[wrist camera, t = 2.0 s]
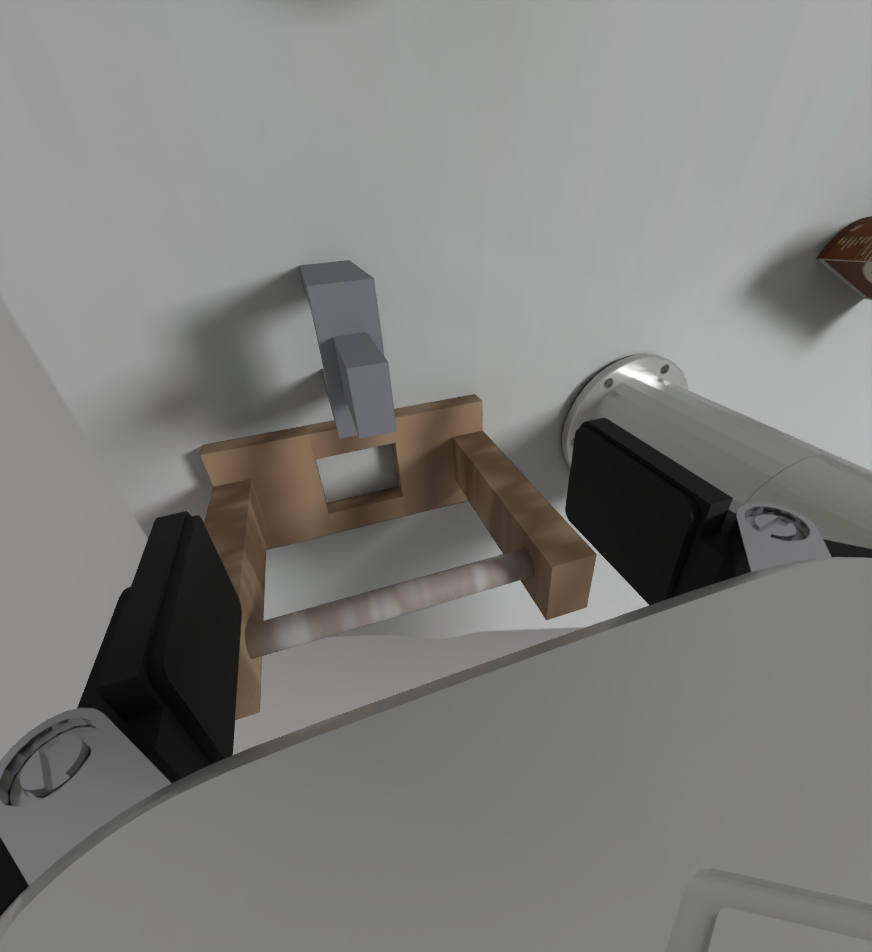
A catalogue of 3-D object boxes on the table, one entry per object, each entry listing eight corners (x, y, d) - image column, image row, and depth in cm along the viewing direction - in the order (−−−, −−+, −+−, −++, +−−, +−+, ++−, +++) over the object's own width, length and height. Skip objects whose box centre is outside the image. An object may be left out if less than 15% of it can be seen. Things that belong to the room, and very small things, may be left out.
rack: (475, 394, 34) (603, 515, 20) (476, 488, 39) (581, 635, 25) (203, 445, 29) (140, 641, 16) (243, 543, 34) (221, 756, 21)
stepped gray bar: (367, 378, 31) (417, 473, 20) (325, 385, 30) (352, 487, 19) (348, 260, 26) (398, 296, 15) (299, 265, 26) (314, 307, 15)
